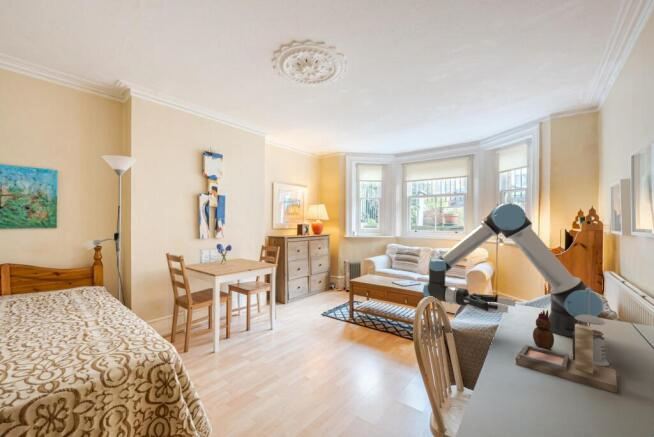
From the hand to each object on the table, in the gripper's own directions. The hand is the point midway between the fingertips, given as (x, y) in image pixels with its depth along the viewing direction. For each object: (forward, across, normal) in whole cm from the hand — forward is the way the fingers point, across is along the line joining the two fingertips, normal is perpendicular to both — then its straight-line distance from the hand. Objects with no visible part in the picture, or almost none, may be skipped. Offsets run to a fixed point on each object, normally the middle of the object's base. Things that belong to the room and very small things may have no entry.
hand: (511, 306), depth 117 cm
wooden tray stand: (+18, +16, -14) cm, 28 cm away
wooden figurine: (+10, 0, -14) cm, 18 cm away
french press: (+23, -2, -14) cm, 27 cm away
